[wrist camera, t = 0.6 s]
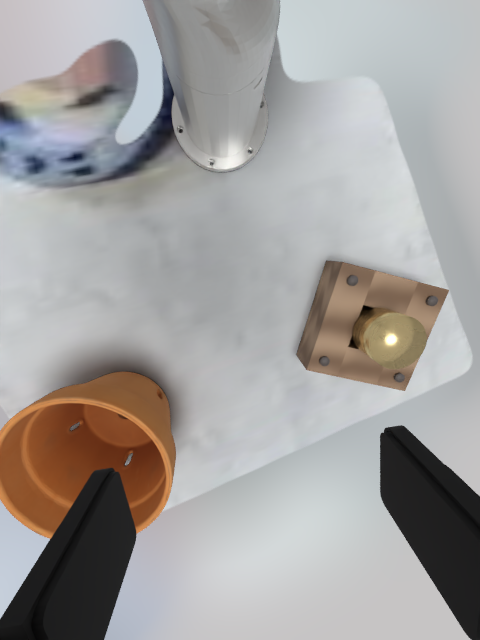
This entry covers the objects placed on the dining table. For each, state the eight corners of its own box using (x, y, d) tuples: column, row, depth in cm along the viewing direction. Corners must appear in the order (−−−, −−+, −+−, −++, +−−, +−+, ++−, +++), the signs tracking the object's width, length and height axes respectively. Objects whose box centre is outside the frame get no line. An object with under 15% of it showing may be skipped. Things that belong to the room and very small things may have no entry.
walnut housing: (326, 260, 41) (344, 262, 34) (418, 285, 42) (452, 290, 36) (296, 354, 44) (307, 371, 38) (382, 373, 46) (407, 392, 40)
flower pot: (45, 363, 43) (-47, 420, 28) (171, 339, 43) (143, 383, 28) (88, 468, 48) (29, 559, 34) (200, 446, 48) (189, 528, 34)
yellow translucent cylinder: (346, 296, 41) (383, 310, 31) (386, 306, 42) (435, 323, 32) (331, 337, 43) (363, 363, 33) (371, 346, 44) (413, 374, 34)
